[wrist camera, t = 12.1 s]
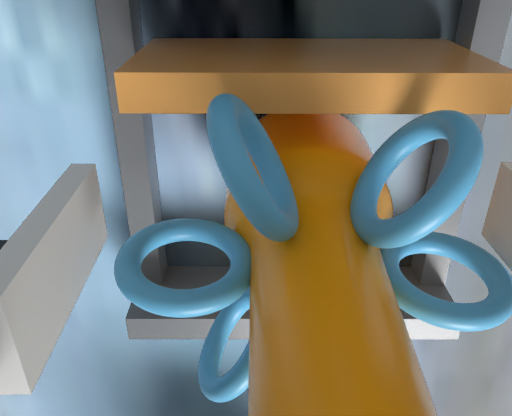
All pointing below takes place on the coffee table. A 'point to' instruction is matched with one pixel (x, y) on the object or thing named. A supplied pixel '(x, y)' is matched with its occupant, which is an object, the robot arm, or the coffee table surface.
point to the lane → (189, 277)
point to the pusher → (313, 76)
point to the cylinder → (322, 262)
